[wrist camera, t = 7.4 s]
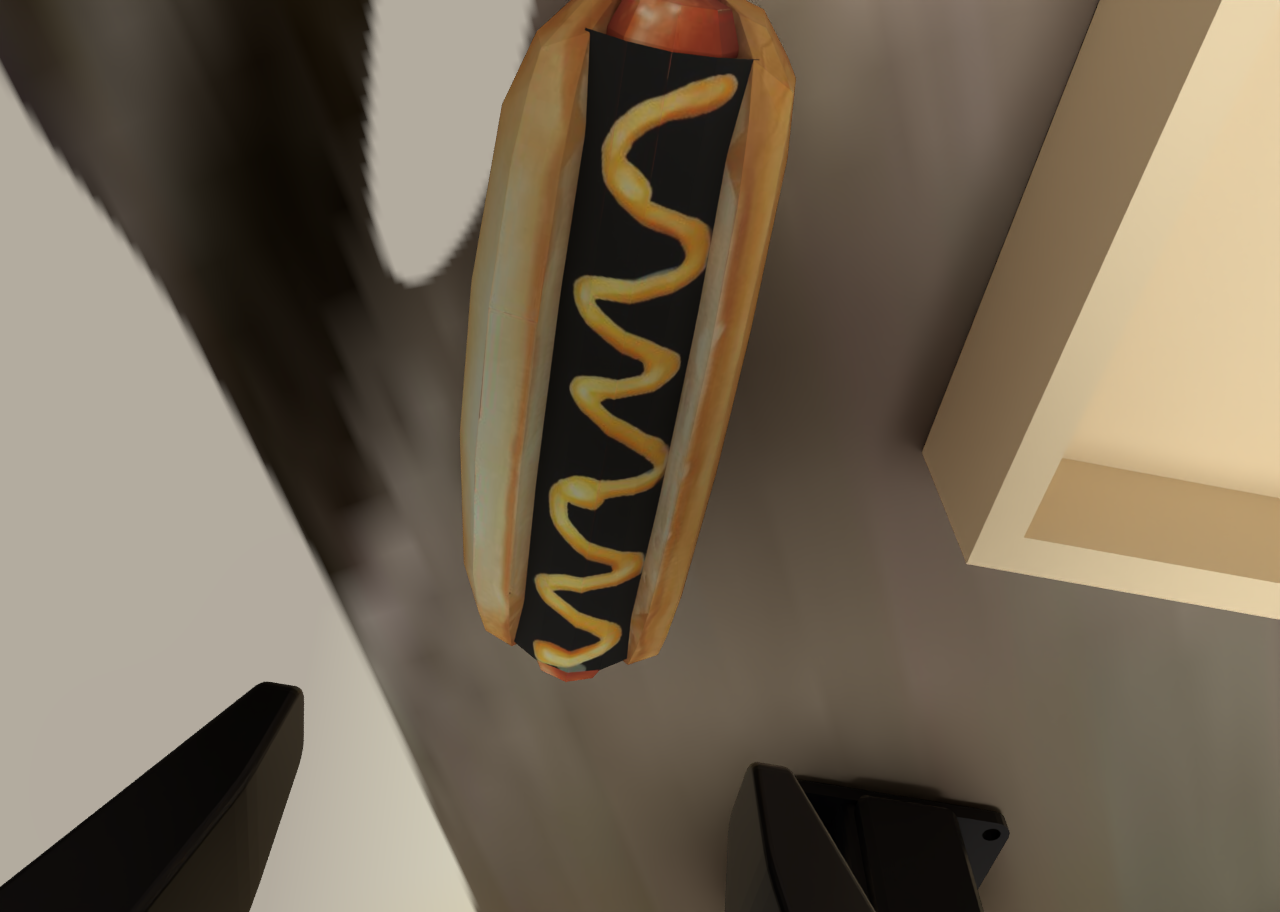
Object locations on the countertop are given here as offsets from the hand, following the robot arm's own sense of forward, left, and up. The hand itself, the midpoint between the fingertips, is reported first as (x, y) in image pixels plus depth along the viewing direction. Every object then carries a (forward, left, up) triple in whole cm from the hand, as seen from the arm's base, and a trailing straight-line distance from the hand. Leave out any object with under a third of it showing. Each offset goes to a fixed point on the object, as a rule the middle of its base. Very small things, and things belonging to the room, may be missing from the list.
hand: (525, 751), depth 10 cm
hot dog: (0, 0, -12) cm, 12 cm away
